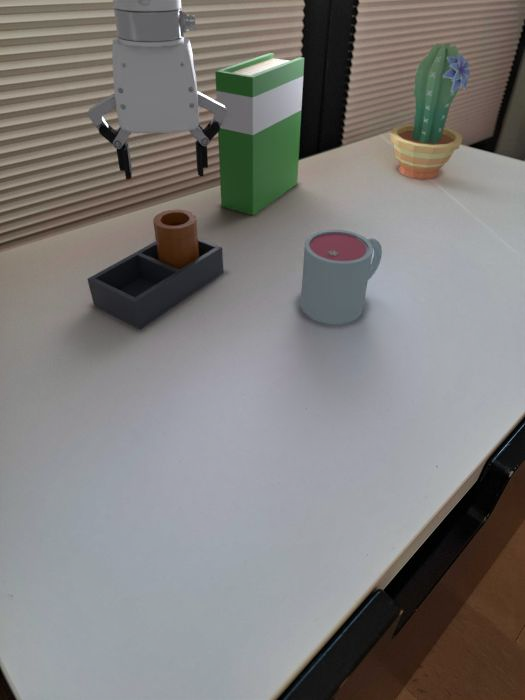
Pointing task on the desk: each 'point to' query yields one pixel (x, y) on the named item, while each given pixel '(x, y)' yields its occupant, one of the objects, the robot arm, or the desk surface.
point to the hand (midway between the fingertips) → (165, 174)
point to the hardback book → (259, 130)
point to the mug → (337, 275)
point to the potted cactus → (431, 114)
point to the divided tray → (152, 283)
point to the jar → (176, 237)
